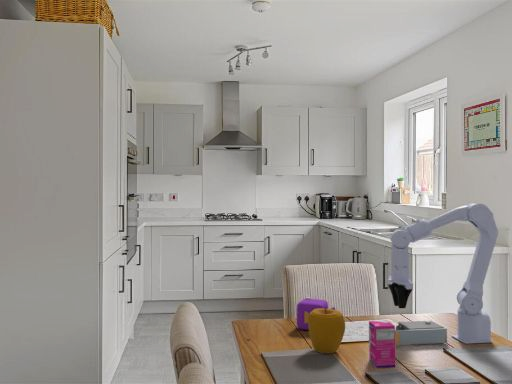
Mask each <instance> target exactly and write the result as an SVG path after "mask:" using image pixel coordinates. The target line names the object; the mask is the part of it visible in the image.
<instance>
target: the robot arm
mask: <svg viewBox="0 0 512 384" xmlns="http://www.w3.org/2000/svg"><path fill="white" fill-rule="evenodd" d="M494 217H495V216H494V213H493V211H492V210H490V208H489V207H488V206H487V205H486V204H484V203H477V202H476V203H475V202H471V203H469V204H466V205H462V206H458V207H456V208H453V209H452V210H451V209H450V210H449V211H446V212H445V213H443V214H441V215H438V216H436V217H434V218H432V219H429V220H426V219H416V220H415V222H414V223H412V224H408V225H406V226H405V225H404V226H401V229H396V230H394V231H393V232H392V234H391V235H390V242H391V244H392V245H391V253H390V262H391V263H390V265H391V266H390V268H391V269H390V273H391V274H390V275H388V276H387V282H389V284H388V285H387V286H388V288H389V290H390V293H391V295H392V300H393V304H394V307H398V308H399V309H406V308H407V304H408V300H409V297H410V295H411V293H412V291H413V290H414V282H412V281H411V279H410V252H409V245H410V243H412V244H413V243H416V242H418V241H420V240H422V239H425V238H428V237H429V236H432V233H433V231H434V230H436V229H438V228H441V227H444V226H446V225H448V224H451V223H454V222H455V221H456V222H457V221H463V222H469V223H470V224H471V225H473V226H474V228H475V229H476V230H477V232H478V233H479V237H478V240H477V242H476V243H477V244H476V246H475V250H474V254H473V257H472V261H471V263H470V267H469V271H468V274H467V277H466V281H465V282H463V283H464V284H463V285H462V288H461V289H460V290H459V291H458V293H457V295H456V301H457V303H458V305H459V307H458V308H457V312H456V313H457V314H456V315H457V317H456V318H457V323H456V324H457V327H456V328H457V332H456V333H457V334H451V338H454V339H456V340H457V341H459V342H461V343H464V344H466V345H467V344H482V343H483V344H485V343H486V344H487V343H493V340H492V335H491V334H492V327H491V326H492V324H491V323H492V322H491V318H490V315H489V314H488V313H487V312H484V311H482V310H483V307H484V303H483V302H484V301H483V296H484V284H485V280H486V277H487V273H488V270H489V266H490V263H491V259H492V255H493V253H494V249H495V245H496V242H497V238H498V235H499V230H498V226H497V224H496V221H495V218H494Z"/></svg>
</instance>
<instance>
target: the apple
mask: <svg viewBox="0 0 512 384" xmlns="http://www.w3.org/2000/svg"><path fill="white" fill-rule="evenodd" d="M308 327H309V330H308V334H309V339H310V342H311V344H312V346H313V349H314V351H315V352H318V353H320V354H324V353H326V354H327V355H329V354H330V353H331V354H334V353H335V352H337V351H338V350H339V349H340V347H341V346H340V345H341V344H342V341H343V338H344V335H345V331H346V321H345V317H344V315H343V313H342V312H341V311H339V310H337V309H335V310H333V309H331V308H328V309H326V308H324V309H323V308H317V309H314V310H313V311H312V312H310V314H309V316H308ZM331 354H330V355H331Z"/></svg>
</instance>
